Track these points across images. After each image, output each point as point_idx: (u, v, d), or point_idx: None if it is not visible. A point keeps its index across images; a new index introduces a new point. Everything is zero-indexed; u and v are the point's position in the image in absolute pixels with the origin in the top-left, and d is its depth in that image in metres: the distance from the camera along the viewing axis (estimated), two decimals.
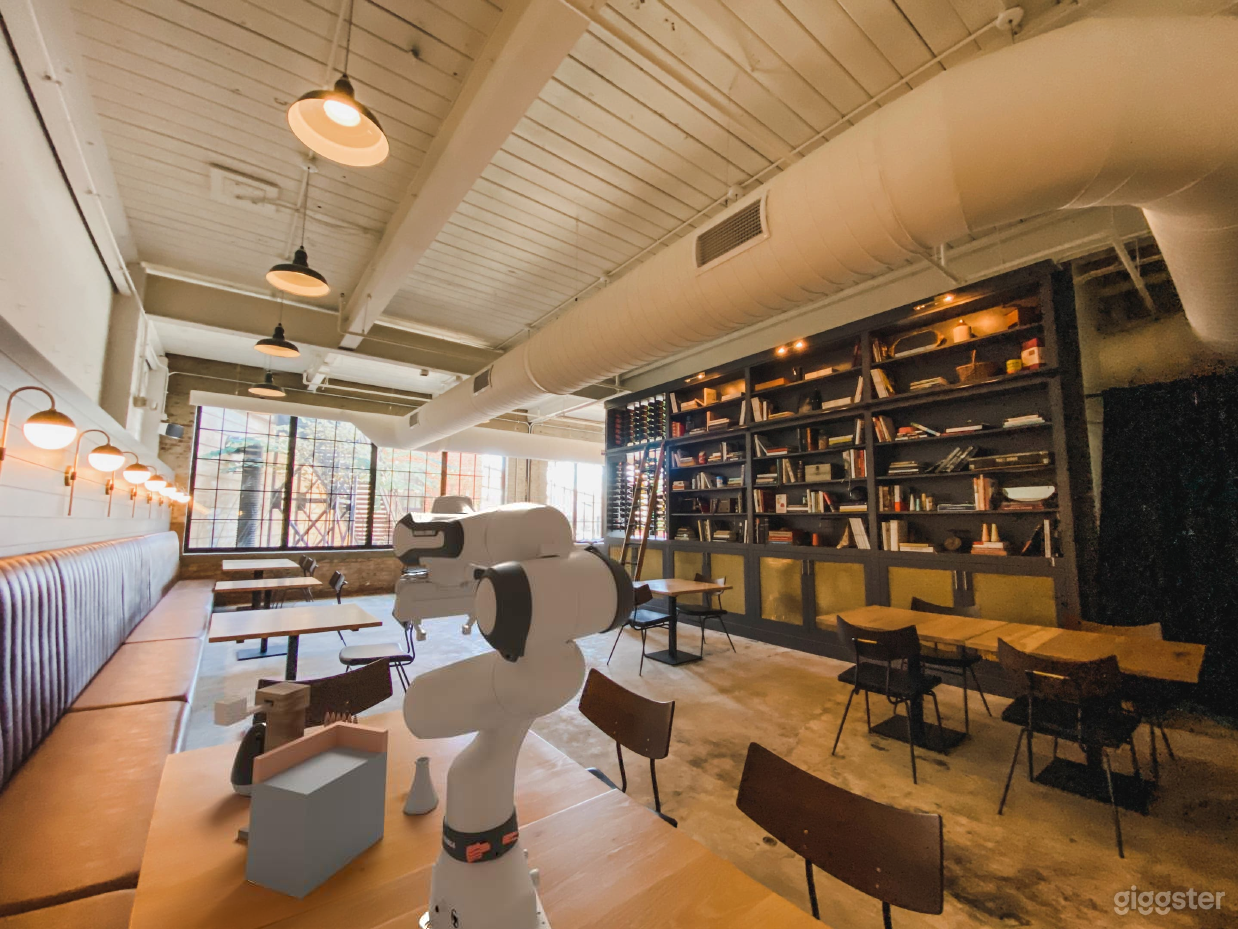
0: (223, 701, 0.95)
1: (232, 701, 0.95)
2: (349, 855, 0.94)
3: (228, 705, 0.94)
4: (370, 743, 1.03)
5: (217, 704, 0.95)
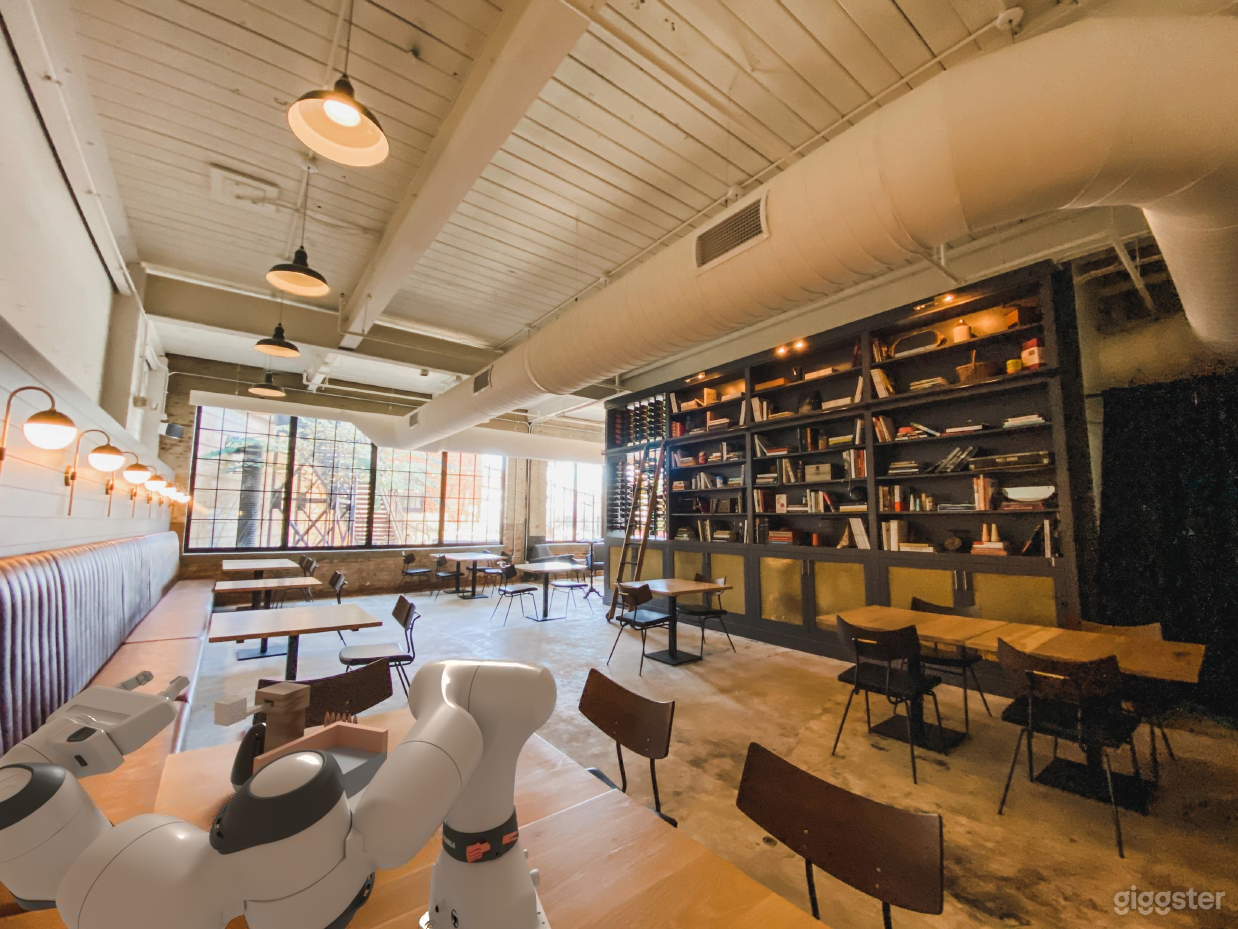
0: (223, 701, 0.95)
1: (232, 701, 0.95)
2: None
3: (228, 705, 0.94)
4: (370, 743, 1.03)
5: (217, 704, 0.95)
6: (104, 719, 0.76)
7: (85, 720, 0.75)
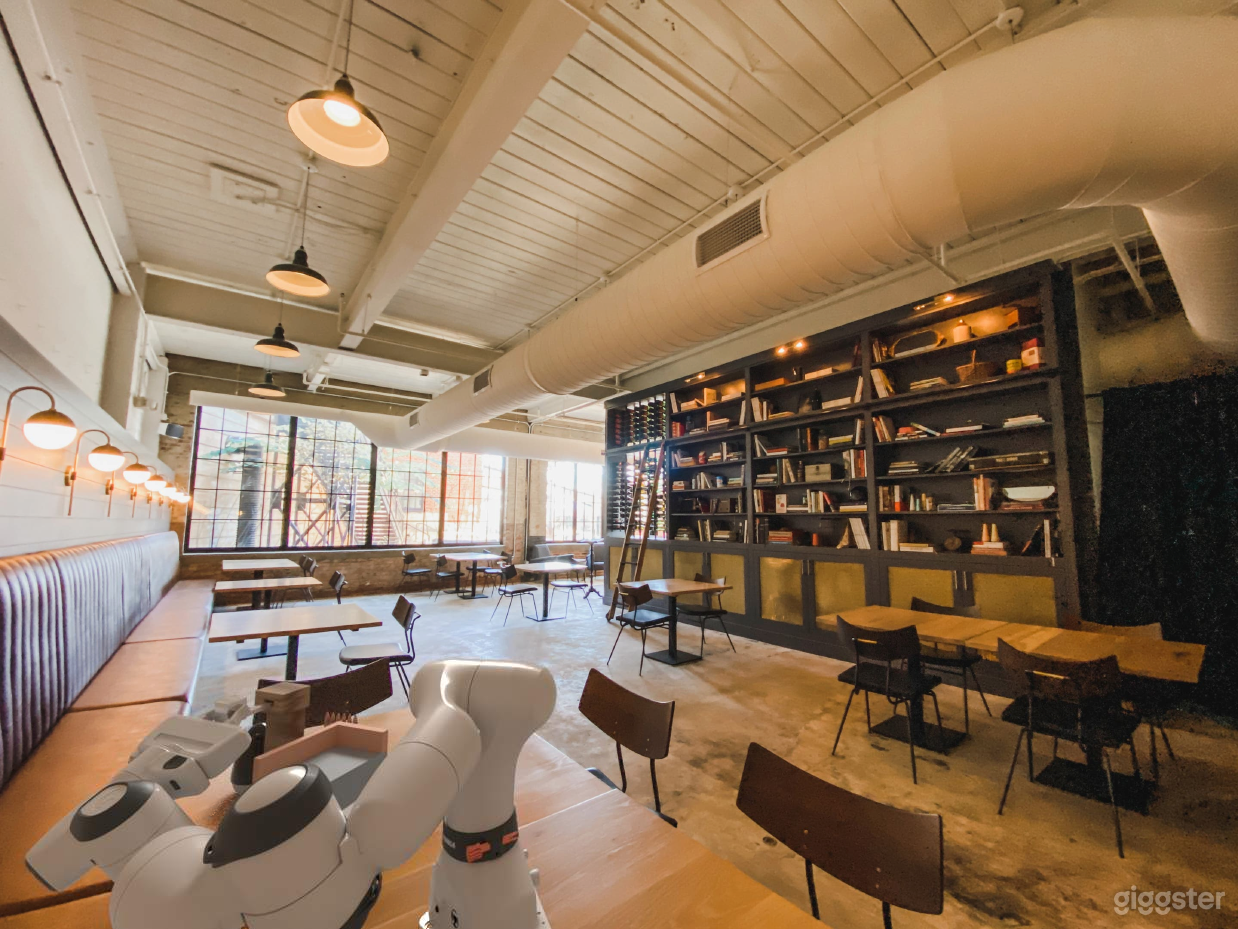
0: (223, 701, 0.95)
1: (233, 701, 0.95)
2: None
3: (228, 705, 0.94)
4: (370, 743, 1.03)
5: (217, 704, 0.95)
6: (190, 747, 0.87)
7: (175, 749, 0.86)
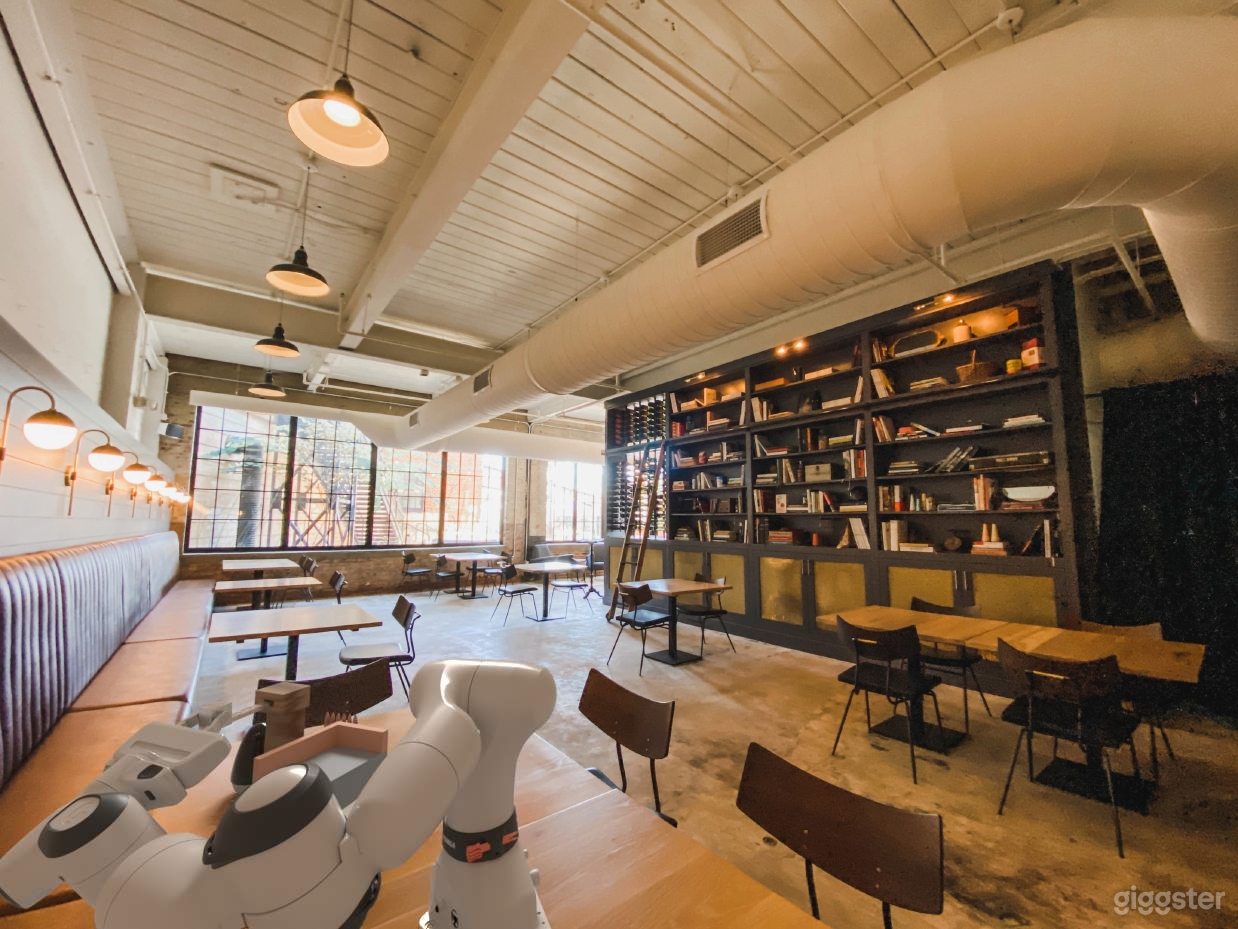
0: (207, 707, 0.93)
1: (217, 706, 0.93)
2: None
3: (212, 710, 0.92)
4: (370, 743, 1.03)
5: (201, 710, 0.92)
6: (167, 755, 0.84)
7: (151, 757, 0.83)
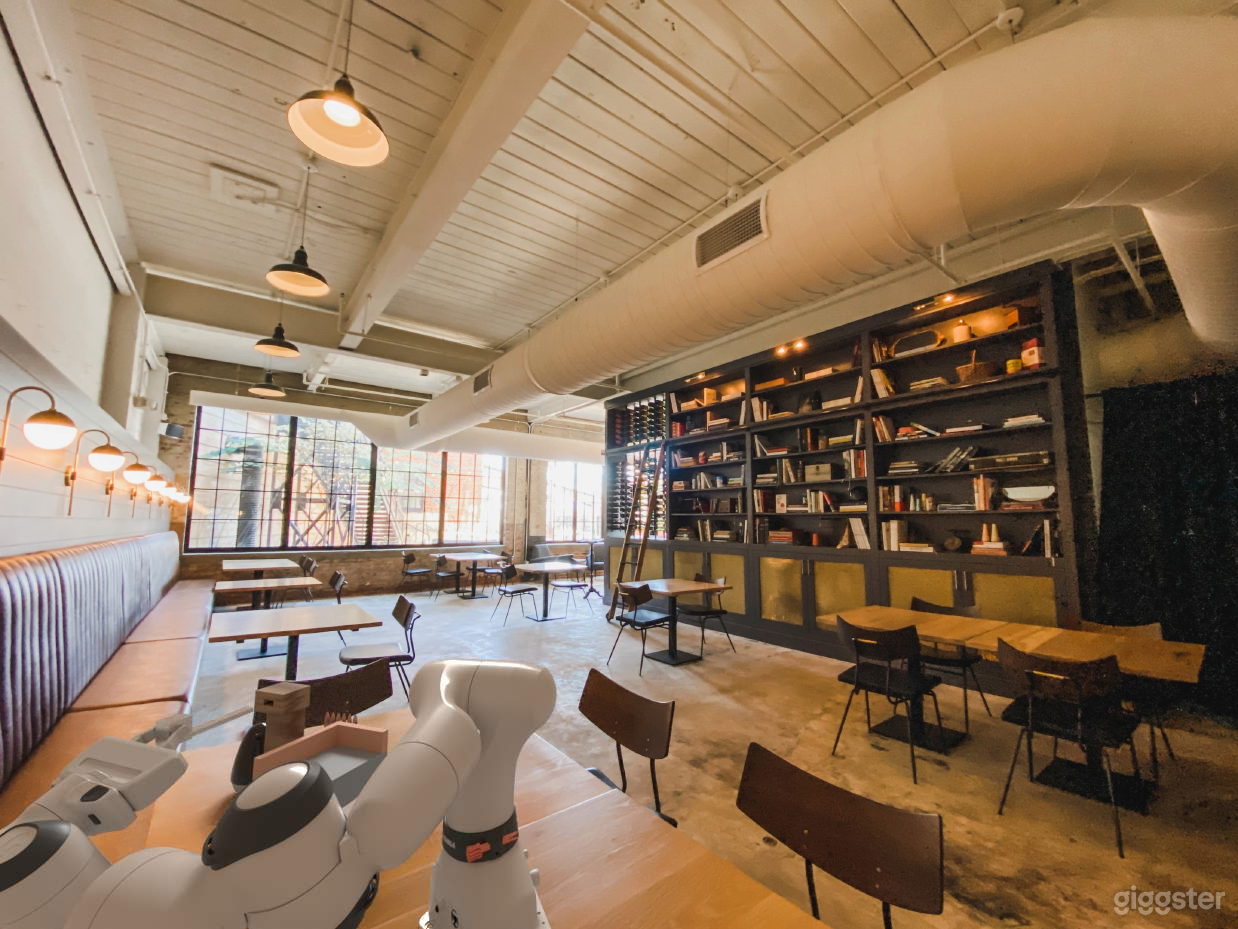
0: (165, 720, 0.86)
1: (175, 720, 0.86)
2: None
3: (169, 724, 0.85)
4: (370, 743, 1.03)
5: (158, 724, 0.86)
6: (116, 775, 0.78)
7: (98, 777, 0.76)
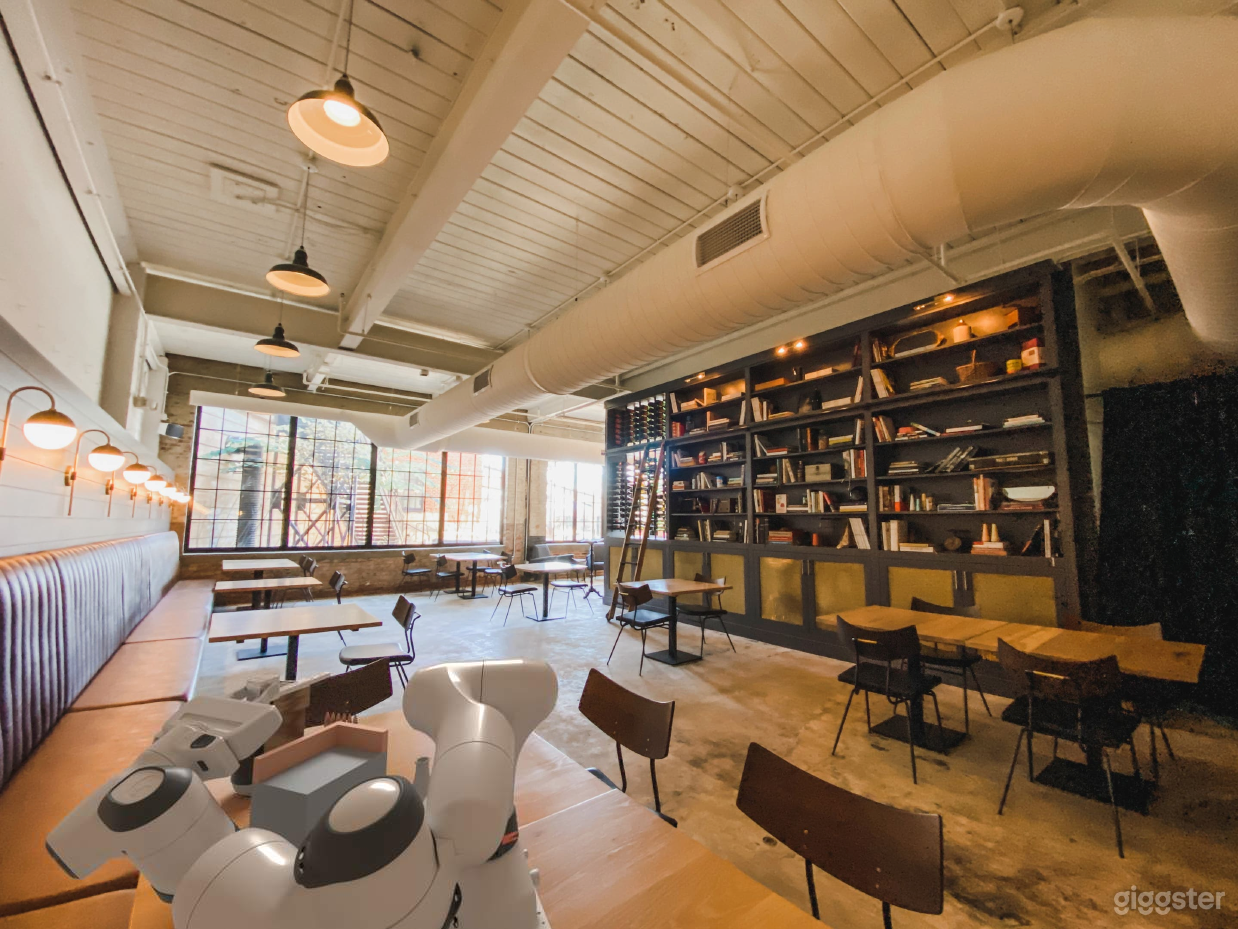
0: (255, 680, 0.90)
1: (265, 679, 0.90)
2: None
3: (260, 683, 0.89)
4: (370, 743, 1.03)
5: (249, 683, 0.90)
6: (217, 726, 0.81)
7: (202, 728, 0.80)
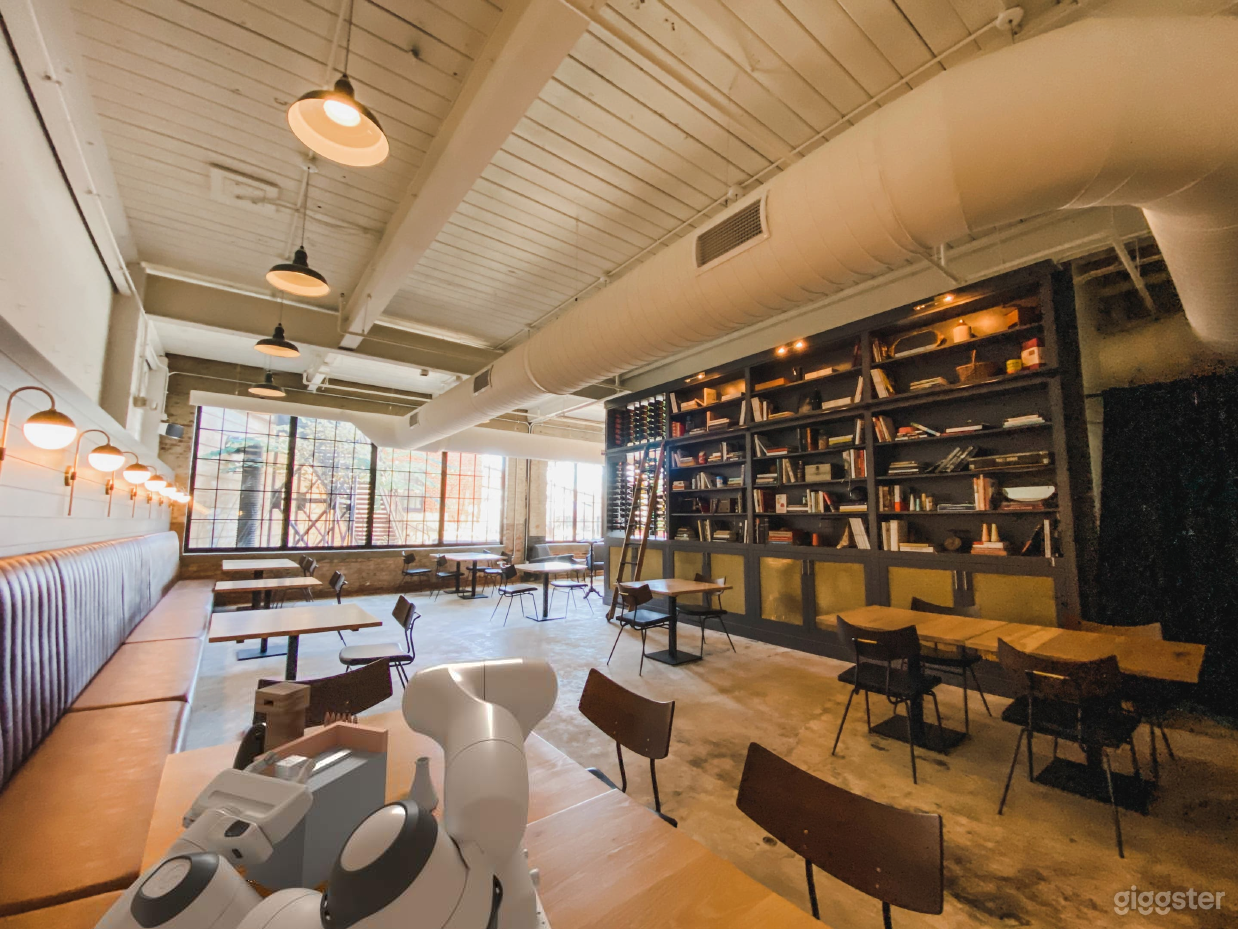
0: (284, 763, 0.90)
1: (294, 763, 0.90)
2: None
3: (289, 767, 0.89)
4: (370, 743, 1.03)
5: (278, 766, 0.89)
6: (249, 808, 0.81)
7: (234, 811, 0.80)
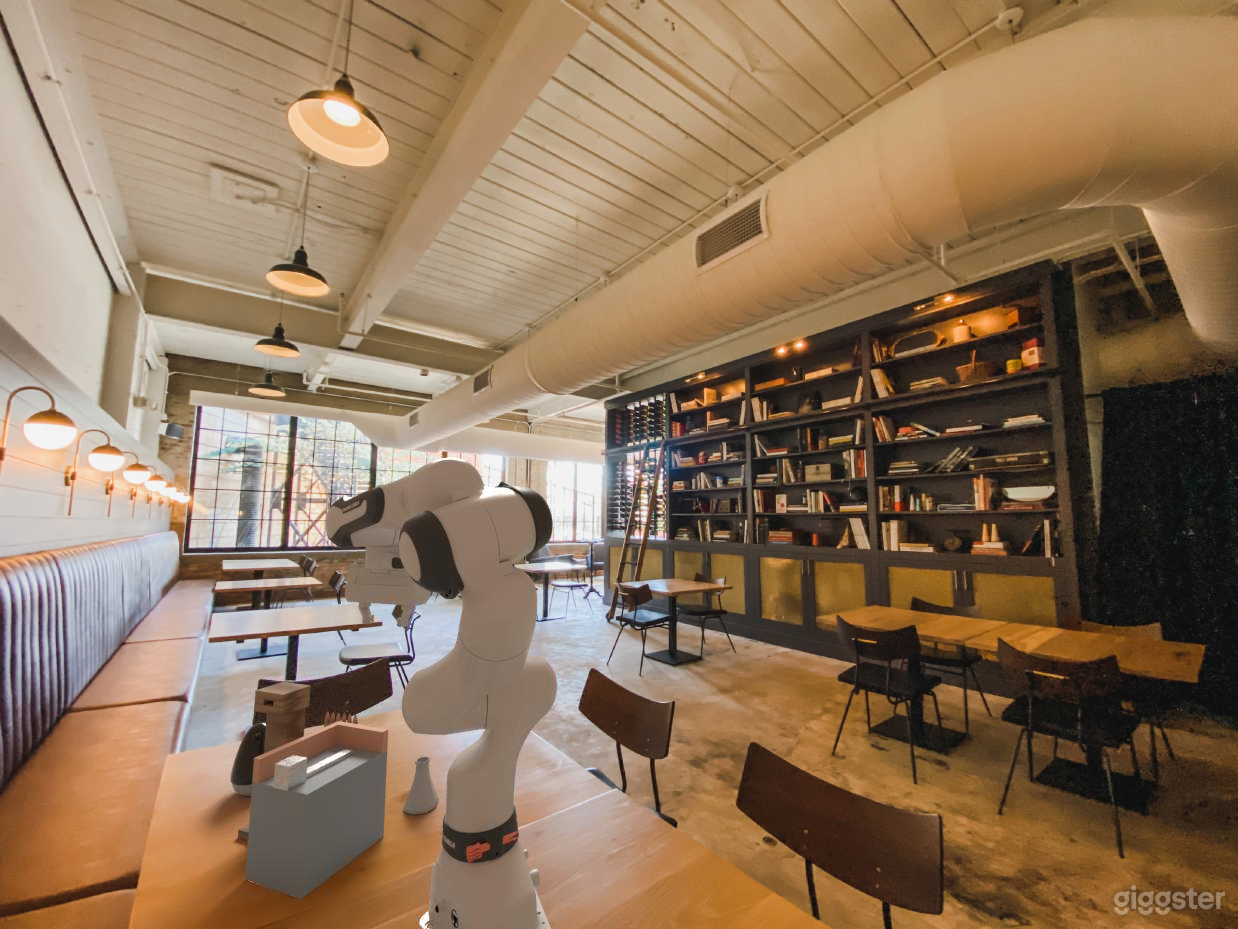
0: (284, 763, 0.90)
1: (294, 763, 0.90)
2: (349, 855, 0.94)
3: (289, 767, 0.89)
4: (370, 743, 1.03)
5: (278, 766, 0.89)
6: None
7: None
